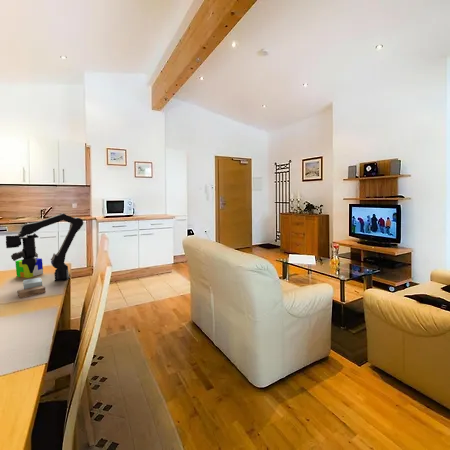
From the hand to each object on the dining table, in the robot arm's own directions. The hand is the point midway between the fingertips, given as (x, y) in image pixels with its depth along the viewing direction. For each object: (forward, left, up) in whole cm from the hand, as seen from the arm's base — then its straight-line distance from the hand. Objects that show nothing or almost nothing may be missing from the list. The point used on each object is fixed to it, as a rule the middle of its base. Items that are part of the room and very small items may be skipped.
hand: (31, 273), depth 161 cm
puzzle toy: (+11, -21, -7) cm, 25 cm away
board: (-7, +17, -7) cm, 20 cm away
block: (-4, +9, -7) cm, 12 cm away
